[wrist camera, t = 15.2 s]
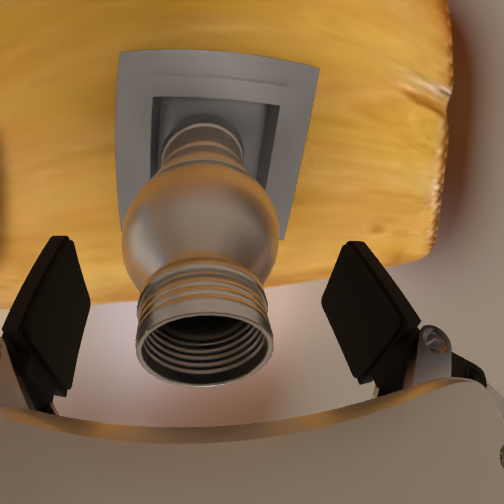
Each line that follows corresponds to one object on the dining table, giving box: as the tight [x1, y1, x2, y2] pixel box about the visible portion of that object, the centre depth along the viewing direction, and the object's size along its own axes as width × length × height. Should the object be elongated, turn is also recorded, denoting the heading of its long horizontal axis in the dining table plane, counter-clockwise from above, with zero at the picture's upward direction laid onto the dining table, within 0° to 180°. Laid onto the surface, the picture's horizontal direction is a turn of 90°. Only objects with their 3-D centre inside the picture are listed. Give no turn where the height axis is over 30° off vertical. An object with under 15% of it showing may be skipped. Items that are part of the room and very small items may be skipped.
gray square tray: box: [115, 49, 320, 240], centre depth 22 cm, size 18×17×5 cm
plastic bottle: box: [121, 116, 279, 388], centre depth 15 cm, size 6×7×20 cm
